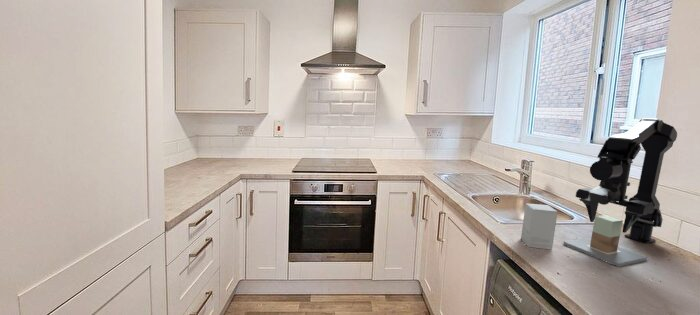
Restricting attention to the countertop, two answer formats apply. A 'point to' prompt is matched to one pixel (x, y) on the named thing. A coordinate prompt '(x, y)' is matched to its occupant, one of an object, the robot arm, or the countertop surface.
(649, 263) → the countertop surface
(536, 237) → the supplement box
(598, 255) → the plate
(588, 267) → the countertop surface
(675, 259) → the countertop surface
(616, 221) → the sage block
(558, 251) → the countertop surface
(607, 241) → the walnut block
